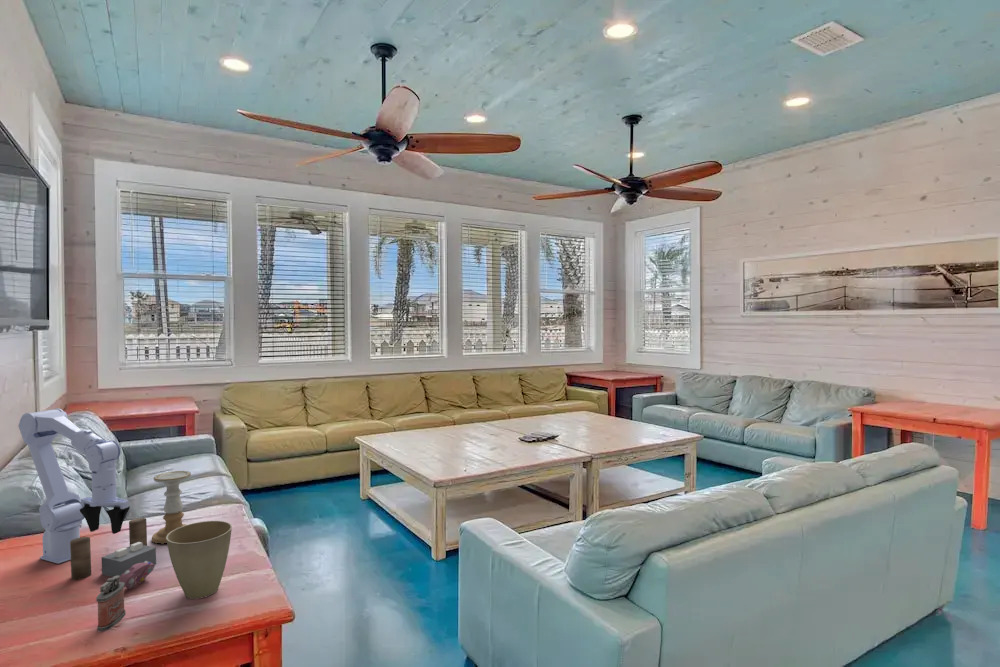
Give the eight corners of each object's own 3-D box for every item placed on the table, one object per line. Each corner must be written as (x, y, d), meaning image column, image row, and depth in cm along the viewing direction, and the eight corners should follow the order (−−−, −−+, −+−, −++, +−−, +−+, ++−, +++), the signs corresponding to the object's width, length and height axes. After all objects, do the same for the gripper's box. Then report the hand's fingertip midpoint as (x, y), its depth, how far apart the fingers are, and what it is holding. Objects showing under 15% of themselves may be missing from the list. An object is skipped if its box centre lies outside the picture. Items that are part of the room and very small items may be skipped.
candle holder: (182, 544, 177) (180, 480, 176) (142, 544, 177) (141, 480, 177) (203, 529, 189) (201, 469, 189) (166, 529, 190) (164, 469, 189)
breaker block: (102, 575, 157) (101, 551, 157) (137, 560, 166) (136, 538, 166) (121, 579, 154) (120, 555, 154) (156, 564, 163) (155, 542, 163)
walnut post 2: (126, 555, 169) (125, 522, 169) (140, 549, 174) (140, 517, 173) (136, 557, 168) (135, 524, 167) (150, 551, 172) (149, 519, 171)
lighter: (114, 613, 136) (113, 571, 136) (129, 612, 136) (128, 571, 136) (93, 631, 128) (91, 588, 128) (109, 630, 128) (107, 587, 128)
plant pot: (172, 585, 150) (170, 525, 149) (234, 575, 156) (232, 517, 155) (163, 612, 136) (161, 546, 136) (232, 599, 142) (230, 536, 141)
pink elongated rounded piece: (120, 600, 145) (130, 577, 144) (106, 591, 146) (116, 568, 145) (151, 582, 155) (160, 561, 154) (138, 574, 156) (147, 552, 155)
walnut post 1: (67, 578, 155) (66, 541, 155) (84, 571, 159) (83, 535, 159) (77, 580, 153) (76, 544, 153) (94, 574, 157) (93, 538, 157)
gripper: (70, 487, 160) (71, 534, 161) (113, 490, 157) (114, 538, 158) (92, 480, 167) (94, 525, 168) (134, 482, 164) (135, 529, 165)
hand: (105, 531), depth 163 cm, fingers open, 7 cm apart
